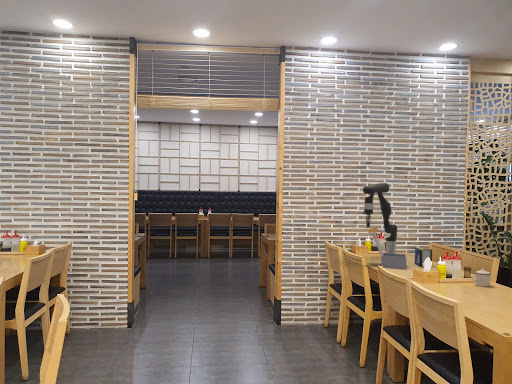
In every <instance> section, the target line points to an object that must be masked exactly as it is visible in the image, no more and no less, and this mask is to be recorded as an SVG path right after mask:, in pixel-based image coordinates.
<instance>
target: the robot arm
mask: <svg viewBox="0 0 512 384" xmlns="http://www.w3.org/2000/svg"><path fill="white" fill-rule="evenodd" d="M389 191H390V185H389V184H388V183H387V182H380V183H376V184H375V185H365V186H363V188H362V192H363V194H364V195H369V196H365V197H364V207H363V208H364V209H363V212H364V213H363V214H365V224H366V228H368V229H370V226H371V220H372V215H373V214H374V197H375V194H377V196H378V200H379V206H380V212H381V215H382V219H383V229H384V232H385V233H386V234H390V236H388V237H387V236H386V238H385V253H395V254H397V252H396V251H397V250H396V249H397V238H398V226H397V224H392V223H390V217H391V214H392V206H391V204H390V202H389V200H387V199H386V198H385V197H384V193H385V194H386V193H389Z"/></svg>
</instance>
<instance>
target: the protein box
mask: <svg viewBox="0 0 512 384" xmlns="http://www.w3.org/2000/svg"><path fill="white" fill-rule="evenodd" d="M427 257H429V258H430V260H431V261H432V262H433V249H432V248H429V247H426V246H425V247H424V246H415V247H414V265H416V266H417V267H418V268H419V267H420V268H424V267H423V263H424V261H425V259H426V258H427Z"/></svg>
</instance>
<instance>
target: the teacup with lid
mask: <svg viewBox="0 0 512 384" xmlns="http://www.w3.org/2000/svg"><path fill="white" fill-rule="evenodd" d="M471 279H472V281H474V282H475V285H476V286H479V287H487V288H488V287H490V286H491V272H489V271H487V270H485V268H481V269H480V270H477V271H475V274H473V275H472V277H471Z"/></svg>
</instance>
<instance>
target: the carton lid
mask: <svg viewBox="0 0 512 384" xmlns="http://www.w3.org/2000/svg"><path fill="white" fill-rule="evenodd" d="M378 231H379V228H378V226H375V227H371V228H368V229H367V232H368V234H371V233H372V236H373V239H374V241H375V245H376V247H377V249H378V252H379V255H380V256H382V253H384V252H383V250H382V248H381V245H380V242H379V239H378V236H377V234H376V232H378Z"/></svg>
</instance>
